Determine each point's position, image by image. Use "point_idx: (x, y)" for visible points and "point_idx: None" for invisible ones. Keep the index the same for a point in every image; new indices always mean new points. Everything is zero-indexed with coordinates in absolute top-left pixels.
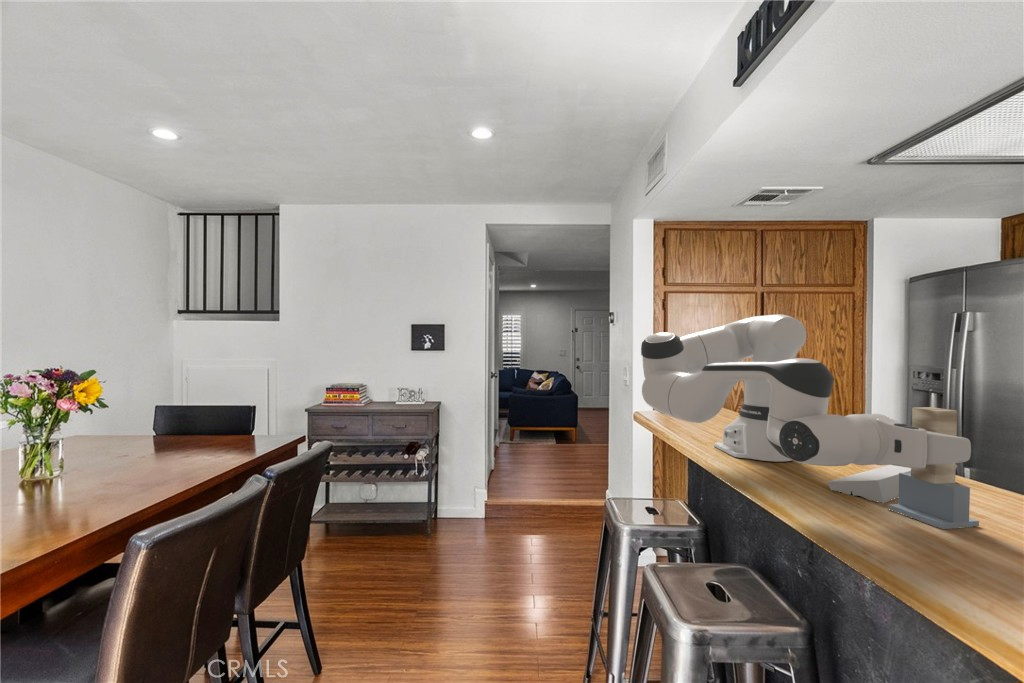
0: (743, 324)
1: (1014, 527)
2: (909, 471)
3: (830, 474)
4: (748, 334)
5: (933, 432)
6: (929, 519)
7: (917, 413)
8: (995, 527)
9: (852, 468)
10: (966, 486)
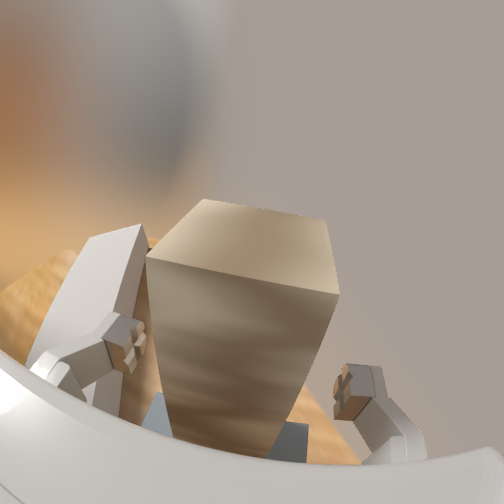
0: None
1: (305, 387)
2: (116, 299)
3: (14, 322)
4: None
5: (385, 496)
6: None
7: (184, 299)
8: (297, 414)
9: (42, 273)
10: (300, 423)
